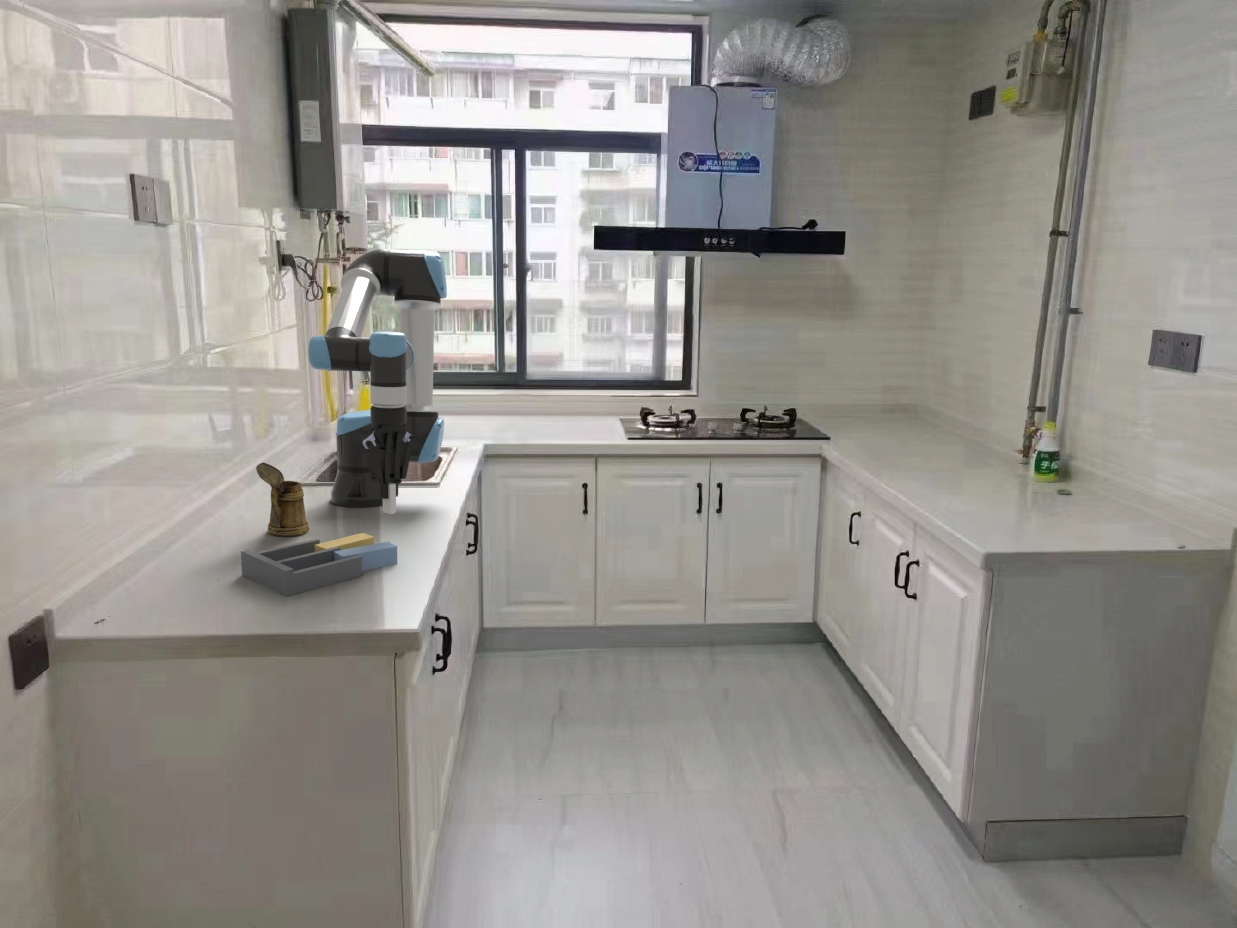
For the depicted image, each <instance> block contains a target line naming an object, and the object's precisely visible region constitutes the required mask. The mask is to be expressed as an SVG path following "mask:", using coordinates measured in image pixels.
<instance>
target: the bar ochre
mask: <svg viewBox="0 0 1237 928" xmlns="http://www.w3.org/2000/svg"><path fill="white" fill-rule="evenodd" d="M372 544H375V536H373V535H369V534H366V533H364V532H361V533H356V534H353V535H349V536H345V537H340V538H337V539H332V540H327V541H325V542H320V544H316V545H315V552H317V551H321V550H325V549H330V548H334V547H339V548H340V550H345V549H350V548H355V547H361V546H366V545H372Z"/></svg>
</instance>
